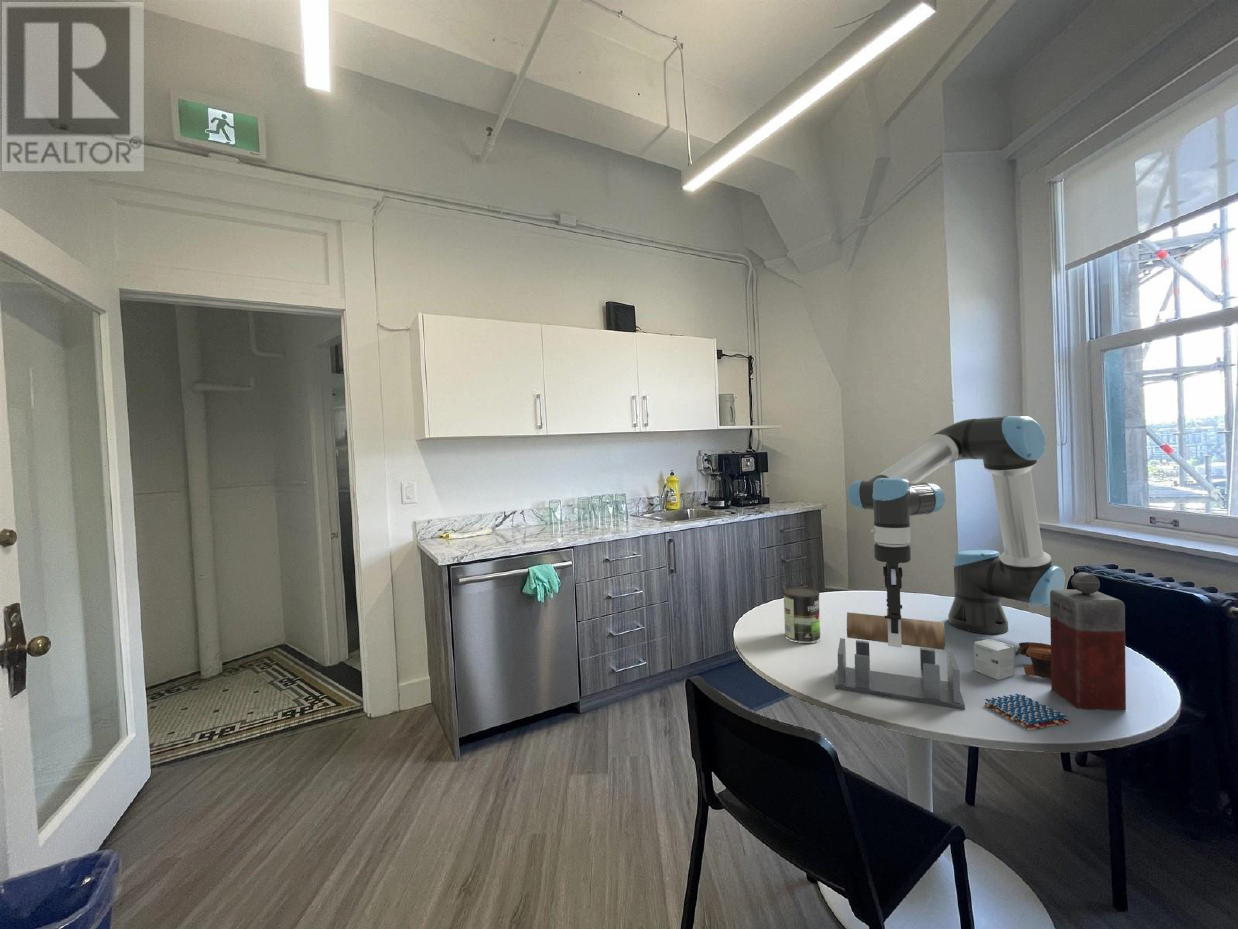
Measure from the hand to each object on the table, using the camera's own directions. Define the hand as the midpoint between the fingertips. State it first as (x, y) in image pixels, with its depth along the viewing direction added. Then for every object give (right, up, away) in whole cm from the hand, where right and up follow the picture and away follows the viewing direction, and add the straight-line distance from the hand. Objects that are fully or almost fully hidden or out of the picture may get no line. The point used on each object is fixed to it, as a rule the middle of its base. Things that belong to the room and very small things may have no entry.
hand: (894, 640), depth 120 cm
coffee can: (-10, -11, +34) cm, 37 cm away
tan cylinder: (0, 0, 0) cm, 1 cm away
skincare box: (+28, -10, +6) cm, 30 cm away
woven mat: (+21, -12, -13) cm, 27 cm away
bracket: (+1, -11, 0) cm, 11 cm away
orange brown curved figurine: (+40, -10, +5) cm, 41 cm away
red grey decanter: (+38, -10, -7) cm, 40 cm away
